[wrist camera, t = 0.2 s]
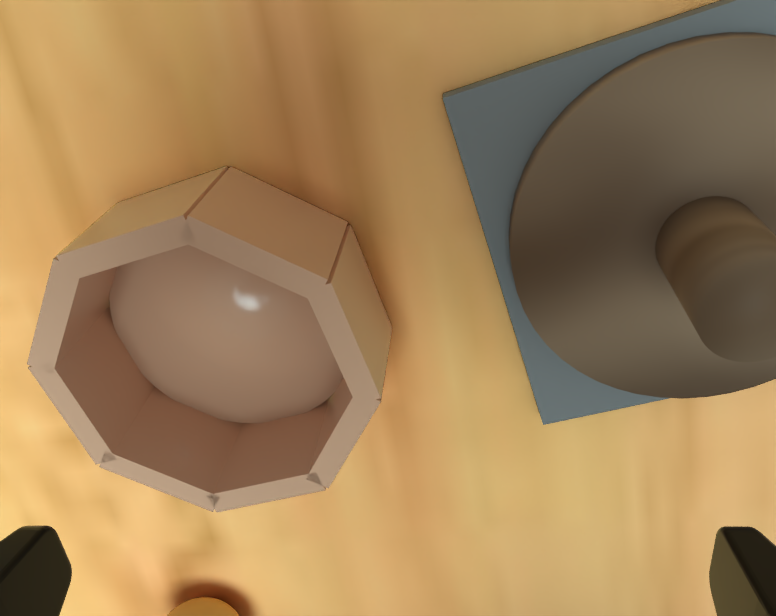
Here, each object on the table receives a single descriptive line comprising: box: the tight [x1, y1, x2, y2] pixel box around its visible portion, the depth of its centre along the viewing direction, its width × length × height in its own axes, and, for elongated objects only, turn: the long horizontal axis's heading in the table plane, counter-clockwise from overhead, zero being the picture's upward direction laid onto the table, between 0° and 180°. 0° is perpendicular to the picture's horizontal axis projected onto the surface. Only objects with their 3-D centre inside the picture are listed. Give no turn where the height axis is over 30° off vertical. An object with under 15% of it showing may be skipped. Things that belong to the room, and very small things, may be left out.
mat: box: [443, 0, 776, 425], centre depth 21 cm, size 12×12×1 cm
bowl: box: [27, 166, 392, 512], centre depth 23 cm, size 10×10×4 cm
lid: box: [509, 32, 776, 398], centre depth 19 cm, size 11×11×5 cm
